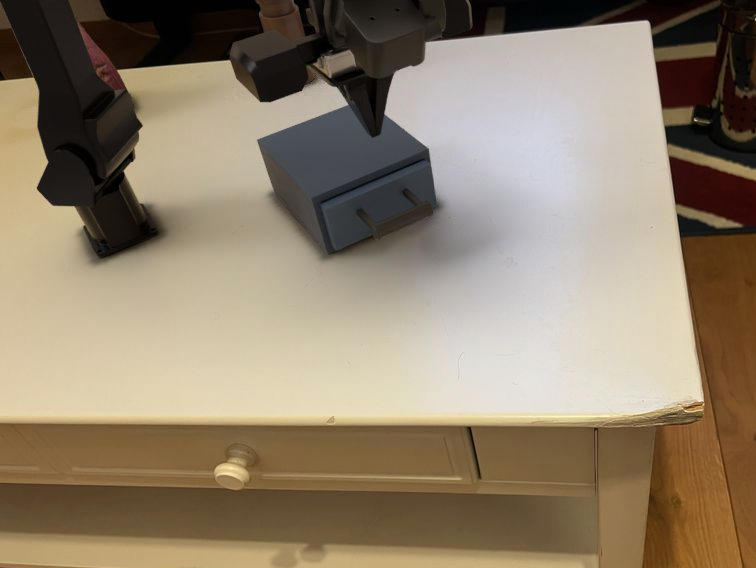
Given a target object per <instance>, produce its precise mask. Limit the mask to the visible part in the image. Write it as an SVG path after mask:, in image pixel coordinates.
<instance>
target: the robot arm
mask: <svg viewBox="0 0 756 568" xmlns="http://www.w3.org/2000/svg"><path fill="white" fill-rule="evenodd" d="M0 5H1V8H2V10H3V12H4V14H5V17H6V20H7V21H8V24H9V25H10V28H11V30H12V32H13V35H14V37H15V39H16V41H17V43H18V45H19V48H20V50H21V52H22V54H23V57H24V59H25V62H26V64H27V66H28V68H29V70H30V73H31V75H32V77H33V79H34V82H35V84H36V86H37V87H36V88H37V90H38V100H37V101H38V102H37V119H36V129H37V132H38V135H39V139H40V143H41V146H42V150H43V153H44V155H45V158H46V161H47V164H46V166H45V168H44V170H43V172H42V175H41V177H40V179H39V181H38V183H37V186H36V191H38V193H39V194H40V195H41V196H42V197H43V198H44V199H45V200H46V201H47V202H48V203H49V204H50V205H51V206H53V207H74V208H75V210H76V212H77V214H78V215H79V217H80V219H81V221H82V222H83V224H84V225H83V227H82V228H83V231H84V233H85V235H86V237H87V239H88V241H89V244H90V246H91V247H92V250H93V252H94V254H95V256H96V257H97V258H104V257H107V256H108V255H111V254H112V253H115V252H118V251H121V250H123V249H125V248H128V247H131V246H132V245H135V244H137V243H140V242H142V241H145V240H148V239H149V238H152V237H155V236H157V235H158V234H159V233H160V230H159V228H158V226H157V224H156V223H155V221H154V220H153V217H152V216H151V215H150V213H149V211H148V209H147V208H146V206H145V205H144V203H141V202H140V201H139V199H138V197H137V195H136V193H135V191H134V189H133V187H132V185H131V183H130V181H129V179H128V177H127V175H126V173H125V170H126V169H127V168H128V167H129V166H130V165H131V163H134V161H135V160H136V149H135V148H136V146H137V145H138V143H139V141H140V132H139V131H141V129H142V128H143V127H144V125H143V123H142V122H141V120H140V119H139V117H138V116H137V113H136V112H135V108H134V109H133V104H134V103H133V104H132V102H133V99H132V95H131V93H130V92H129V90H128V89H127V90H128V91H127V90H114V89H113V88H112V87H111V86H109V85H108V84H107V83H106V82H105V81H104V80H102V79H101V78H100V77H99V76H98V75H97V73H96V71H95V69H94V66H93V64H92V61H91V58H90V56H89V53H88V50H87V48H86V45H85V42H84V40H83V37H82V34H81V32H80V29H79V27H78V24H77V21H76V19H75V16H76V15H75V16H74V14H75V12H74V11H73V9H72V5H71V3H70V0H0ZM308 6H309V7H308V8H305V13H306V17H307V21H308V24H310V25H311V26H313V27H314V31H315V33H312V34H310V35H305V37H303V38H300V39H298V40H295V41H292V42H290V41H289V40H287V39H286V38H285V37H283V36H282V35H281V34H280V33H278V32H277V31H276V30H271V31H268V32H265V33H264V32H262V33H259V34H256V35H253V36H250V37H247V38H244V39H241V40H238V41H234V42H233V43H232V45H231V49H230V52H229V61H230V64H231V68H232V70H233V73H234V76H235V79H236V81H238V82H239V83H240V84H241V85H242V87H244V88H245V89H246V90H247V91H248V92H249V93H250V94H251V95H252V96H253V97H255V99H256V100H257V101H258V102H260V103H273V102H276V101H278V100H281V99H283V98H286V97H289V96H293V95H295V94H297V93H301V92H303V90H304V88H305V86H306V85H307V84H306V82H307V80H308V78H309V76H308V72H307V68H306V66H307V67H308V68H309V69H310V70H311V71H313V72H314V73H315V76H317V77H319V78H320V79H321V80H323V82H324V83H326V84H327V85H329V86H330V87H332V88H336V89H337V90H338V91H339V93H340V94H341V96H342V97H343V98H344V100H345V102H346V103H347V105H349V106H350V108H351V109H352V111H353V112H354V114H355V115H356V117H357V118H358V120H359V122H360V123H361V125H362V126H363V128H364V129H365V131H366V132H367V134H368V135H369V136H371V137H372V138H374V137H376V136H379V135H380V134H381V130H382V125H383V119H384V114H385V115H386V108H387V102H388V97H389V92H390V88H391V85H392V81H393V79H394V76H395V74H396V72H398V71H400V70H403V69H405V68H408V67H413V68H414V67H417V66H419V65H422V63H424V61H425V59H426V47H427V43H428V42H431V41H433V40H436V39H438V38H441V39H442V40H446V39H449V38H452V37H453V36H456V35H460V34H462V33H465V32H468V31H471V29H472V28H473V16H472V15H473V14H472V5H471V3H470V1H469V0H308Z"/></svg>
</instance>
